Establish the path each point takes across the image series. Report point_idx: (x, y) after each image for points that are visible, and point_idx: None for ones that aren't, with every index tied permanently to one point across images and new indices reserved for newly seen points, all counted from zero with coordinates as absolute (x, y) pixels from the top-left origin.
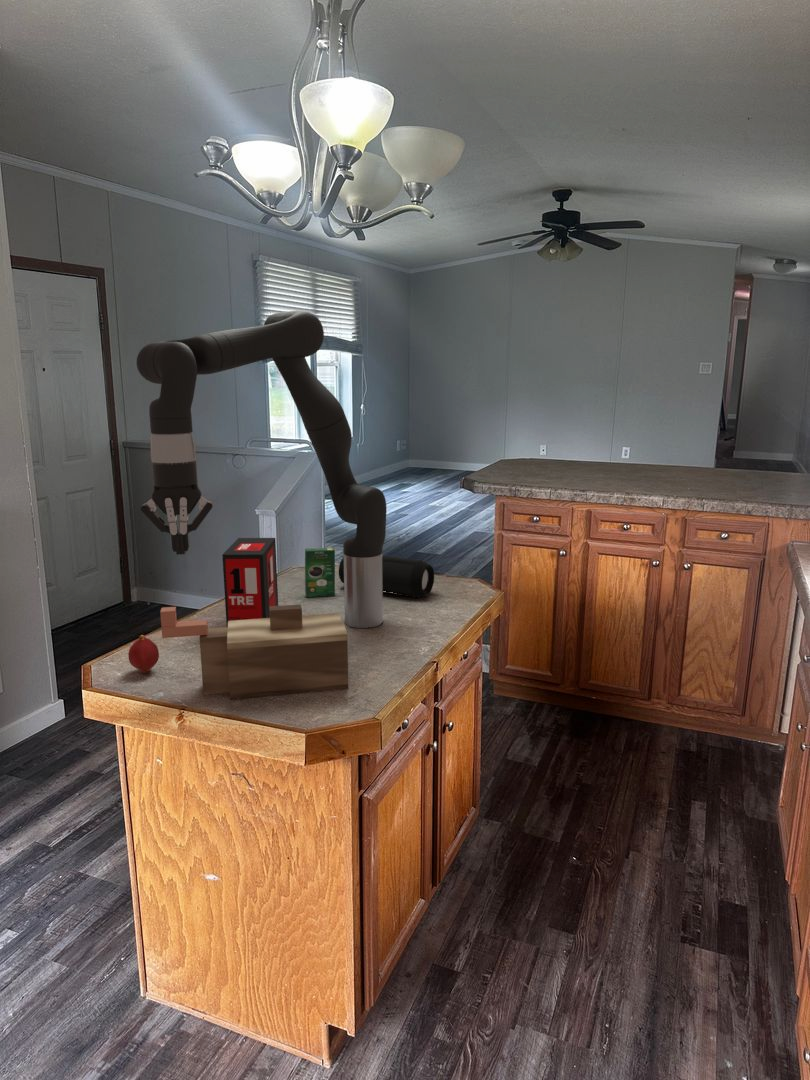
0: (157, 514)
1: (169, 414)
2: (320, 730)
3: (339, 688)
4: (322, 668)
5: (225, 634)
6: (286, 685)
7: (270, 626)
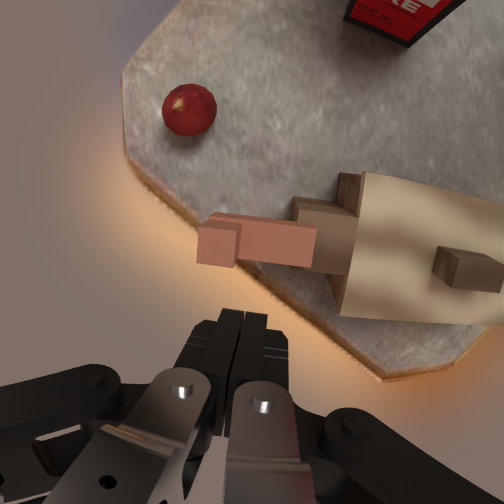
0: (6, 447)
1: None
2: (398, 377)
3: None
4: None
5: (346, 264)
6: None
7: (435, 274)
